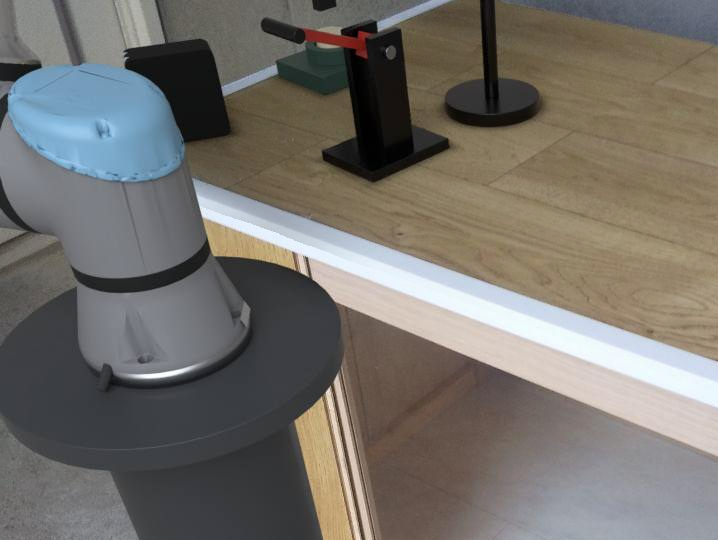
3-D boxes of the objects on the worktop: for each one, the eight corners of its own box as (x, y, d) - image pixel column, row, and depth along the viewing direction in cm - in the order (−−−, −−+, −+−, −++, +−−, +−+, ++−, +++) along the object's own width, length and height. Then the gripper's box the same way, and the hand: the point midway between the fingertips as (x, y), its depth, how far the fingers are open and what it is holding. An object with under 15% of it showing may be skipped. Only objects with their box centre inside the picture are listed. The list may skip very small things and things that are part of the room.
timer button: (329, 52, 131) (327, 38, 129) (310, 46, 133) (308, 32, 131) (352, 44, 133) (350, 30, 132) (333, 38, 135) (331, 24, 133)
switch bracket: (373, 182, 111) (355, 53, 101) (322, 160, 115) (300, 34, 106) (449, 148, 117) (439, 23, 108) (398, 128, 122) (384, 6, 112)
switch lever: (292, 48, 98) (295, 22, 97) (259, 36, 100) (261, 10, 99) (397, 65, 108) (401, 41, 107) (364, 54, 111) (367, 31, 110)
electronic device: (232, 134, 121) (212, 48, 114) (148, 148, 119) (122, 61, 112) (227, 122, 124) (207, 37, 117) (145, 135, 121) (119, 49, 114)
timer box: (325, 95, 130) (319, 63, 127) (278, 77, 135) (272, 46, 132) (393, 69, 136) (389, 38, 133) (346, 53, 141) (341, 22, 138)
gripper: (353, -217, 112) (379, 11, 128) (282, -226, 118) (316, -9, 134) (300, -208, 108) (334, 25, 124) (230, -219, 114) (271, 5, 130)
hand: (325, 7), depth 129 cm, fingers closed
